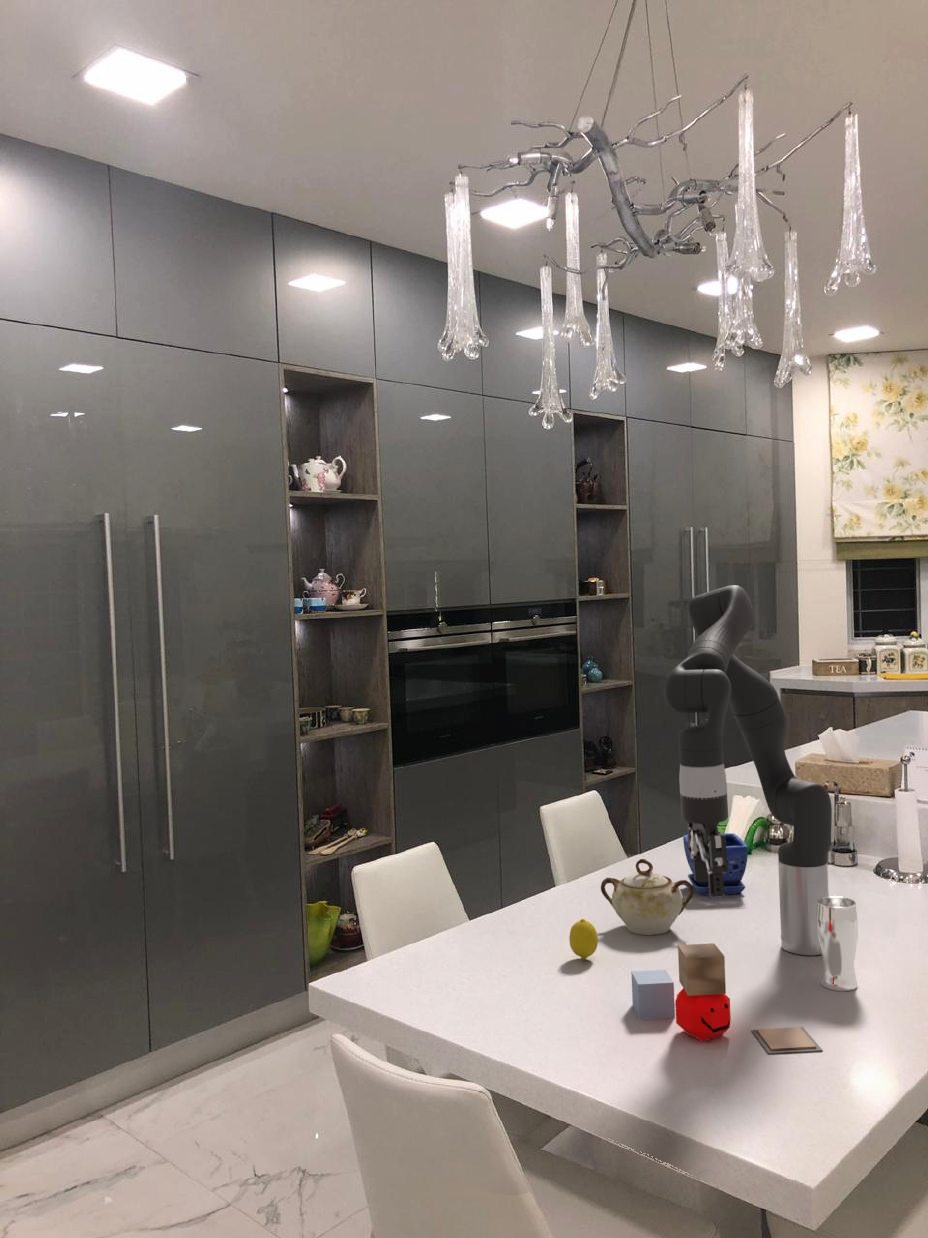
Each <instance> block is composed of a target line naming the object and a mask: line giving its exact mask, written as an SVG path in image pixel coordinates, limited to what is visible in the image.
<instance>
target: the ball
mask: <svg viewBox="0 0 928 1238" xmlns="http://www.w3.org/2000/svg"><path fill="white" fill-rule="evenodd" d="M674 1003H675V1023H676V1024H677V1025H678V1027H680V1028H681V1029H682V1030H683V1031H684V1032H685V1033H686V1034H689V1036H692V1037H694V1038H696V1039H697V1040H698V1041H701V1042H702V1043H703V1042H707V1041H708V1040H709V1041H710V1040H711V1039H717V1038H719V1037H722V1036H723V1035H724V1034H725V1033H726V1032H727V1031H729V1029H730V1027H731V1022H732V1021H731V1020H732V1019H731V999H730V997H729V996H727V995H726V994H712V995H692V996H688V995H687V993H686V991H685V990H684V988H683V987H682V989H681V990H680V991H679V992H678V993H677V994H676V998H675V1000H674Z"/></svg>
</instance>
